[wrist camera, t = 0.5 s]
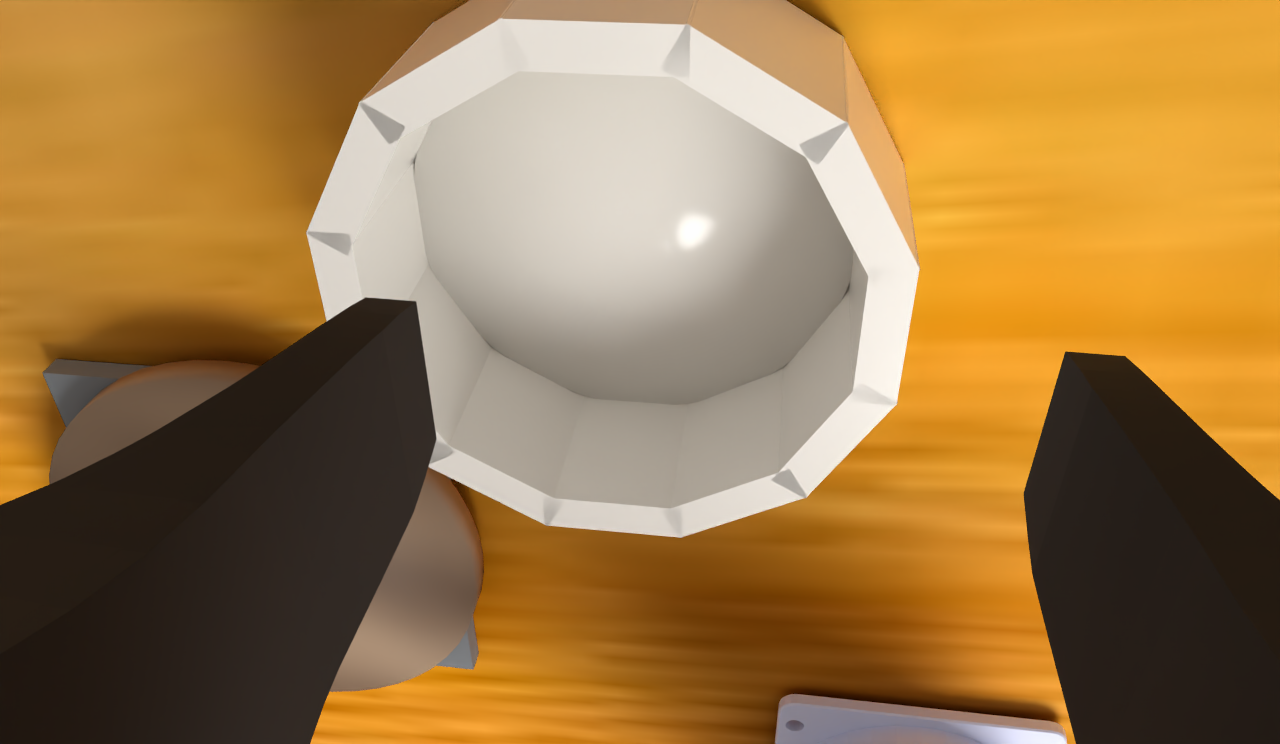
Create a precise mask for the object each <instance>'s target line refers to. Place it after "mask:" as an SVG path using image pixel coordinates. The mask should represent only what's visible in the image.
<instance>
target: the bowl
mask: <svg viewBox="0 0 1280 744" xmlns="http://www.w3.org/2000/svg"><path fill="white" fill-rule="evenodd" d="M358 104H359V105H358V108H357V110H356V113H355V115H354V118H353V120H352V122H351V125H350V127H349V130H348V132H347V135H346V137H345V140H344V142H343V145H342V147H341V149H340V152H339V154H338V157H337V159H336V162H335V164H334V167H333V169H332V171H331V174H330V176H329V179H328V181H327V184H326V186H325V189H324V191H323V193H322V196H321V198H320V201H319V203H318V206H317V208H316V211H315V213H314V216H313V218H312V220H311V223H310V225H309V228H308V230H307V231H306V232H307V233H306V234H307V237H308V241H309V246H310V250H311V254H312V259H313V263H314V268H315V272H316V276H317V281H318V285H319V290H320V294H321V298H322V303H323V307H324V311H325V316H326V320H327V321H328V320H330V319H331V318H333V317H334V316H336V315H337V314H339V313H340V312H342V311H343V310H345V309H347V308H348V307H350V306H351V305H353V304H355V303H357V302H358V301H360V300H362V299H364V298H365V297H368V298H381V299H394V300H407V301H416V302H417V309H418V316H419V323H420V329H421V336H422V343H423V350H424V357H425V363H426V370H427V377H428V384H429V390H430V397H431V404H432V411H433V417H434V424H435V431H436V438H437V440H436V443H435V446H434V450H433V453H432V457H431V460H430V463H429V467H430V468H432V469H434V470H436V471H438V472H440V473H442V474H444V475H446V476H448V477H450V478H452V479H454V480H456V481H458V482H460V483H462V484H464V485H466V486H468V487H470V488H472V489H474V490H476V491H478V492H480V493H482V494H484V495H486V496H488V497H490V498H492V499H494V500H496V501H498V502H500V503H502V504H504V505H506V506H508V507H510V508H512V509H514V510H516V511H518V512H520V513H522V514H524V515H526V516H528V517H530V518H532V519H535V520H537V521H539V522H541V523H543V524H545V525H547V526H558V527H570V528H581V529H592V530H603V531H614V532H625V533H636V534H647V535H658V536H669V537H679V538H682V537H684V536H687V535H690V534H694V533H697V532H700V531H703V530H706V529H709V528H712V527H715V526H719V525H722V524H725V523H728V522H731V521H734V520H737V519H740V518H743V517H747V516H750V515H753V514H756V513H759V512H762V511H765V510H768V509H772V508H775V507H778V506H781V505H784V504H787V503H790V502H793V501H797V500H800V499H803V498H806V497H807V496H808V495H809V494H810V493H811V492H812V491H813V490H814V489H815V488H816V487H817V486H818V485H819V484H820V483H821V482H822V481H823V479H824V478H825V477H826V476H827V475H828V474H829V473H830V472H831V471H832V470H833V469H834V468H835V467H836V466H837V465H838V464H839V463H840V462H841V461H842V460H843V459H844V458H845V457H846V456H847V455H848V454H849V453H850V452H851V451H852V450H853V449H854V447H855V446H856V445H857V444H858V443H859V442H860V441H861V440H862V439H863V438H864V437H865V436H866V435H867V434H868V433H869V432H870V431H871V430H872V429H873V428H874V427H875V426H876V425H877V424H878V423H879V422H880V421H881V420H882V419H883V418H884V417H885V416H886V414H887V413H888V412H889V411H890V410H891V409H892V408H893V407H894V406H895V405H896V404H897V398H898V392H899V386H900V380H901V374H902V368H903V362H904V356H905V350H906V344H907V339H908V333H909V327H910V321H911V315H912V309H913V303H914V297H915V291H916V285H917V279H918V273H919V270H920V266H919V260H918V253H917V246H916V240H915V233H914V226H913V220H912V213H911V206H910V199H909V193H908V186H907V179H906V173H905V166H904V163H903V162H902V159H901V157H900V155H899V153H898V151H897V149H896V147H895V145H894V143H893V141H892V138H891V136H890V134H889V132H888V130H887V128H886V126H885V124H884V122H883V119H882V117H881V115H880V113H879V111H878V109H877V107H876V105H875V103H874V101H873V98H872V96H871V94H870V92H869V90H868V88H867V86H866V84H865V82H864V79H863V77H862V75H861V73H860V71H859V69H858V67H857V65H856V63H855V61H854V58H853V56H852V54H851V52H850V50H849V48H848V46H847V44H846V42H845V39H844V37H843V35H840V34H838V33H837V32H835V31H834V30H832V29H831V28H829V27H827V26H826V25H824V24H823V23H821V22H820V21H818V20H816V19H815V18H813V17H812V16H810V15H809V14H807V13H806V12H804V11H802V10H801V9H799V8H798V7H796V6H795V5H793V4H791V3H790V2H788V1H787V0H470V1H468V2H466V3H465V4H463V5H461V6H460V7H458V8H457V9H455V10H453V11H452V12H450V13H448V14H447V15H445V16H443V17H442V18H440V19H439V20H437V21H435V22H433V23H432V24H431V25H430V26H429V27H428V28H427V29H426V30H425V31H424V33H423V34H422V35H421V36H420V37H419V38H418V39H417V40H416V41H415V42H414V43H413V44H412V46H411V47H410V48H409V49H408V50H407V51H406V52H405V53H404V54H403V55H402V56H401V57H400V59H399V60H398V61H397V62H396V63H395V64H394V65H393V66H392V67H391V68H390V69H389V70H388V72H387V73H386V74H385V75H384V76H383V77H382V78H381V79H380V80H379V81H378V82H377V83H376V85H375V86H374V87H373V88H372V89H371V90H370V91H369V92H368V93H367V94H366V95H365V96H364V98H363V99H362V100H361V101H360V102H359V103H358Z"/></svg>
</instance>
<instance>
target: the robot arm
mask: <svg viewBox="0 0 1280 744" xmlns="http://www.w3.org/2000/svg"><path fill="white" fill-rule="evenodd" d="M436 440H437V438H436V431H435V424H434V417H433V411H432V404H431V397H430V390H429V384H428V377H427V370H426V363H425V357H424V350H423V343H422V336H421V329H420V323H419V316H418V309H417V302H416V301H407V300H394V299H381V298H368V297H365V298H364V299H362V300H360V301H358V302H357V303H355V304H353V305H351V306H350V307H348V308H347V309H345V310H343V311H342V312H340V313H339V314H337V315H336V316H334V317H333V318H331V319H330V320H328V321H327V322H325V323H324V324H322V325H321V326H319V327H318V328H316V329H315V330H313V331H312V332H310V333H309V334H307V335H306V336H304V337H303V338H301V339H300V340H299V341H297V342H296V343H294V344H293V345H291V346H290V347H288V348H287V349H285V350H284V351H282V352H281V353H279V354H278V355H276V356H275V357H273V358H272V359H270V360H269V361H267V362H266V363H264V364H263V365H261V366H260V367H258V368H257V369H255V370H254V371H252V372H251V373H249V374H248V375H246V376H245V377H243V378H242V379H240V380H239V381H237V382H235V383H234V384H232V385H231V386H229V387H228V388H226V389H224V390H223V391H221V392H219V393H218V394H216V395H214V396H213V397H211V398H209V399H208V400H206V401H204V402H203V403H201V404H199V405H198V406H196V407H194V408H193V409H191V410H189V411H188V412H186V413H184V414H183V415H181V416H179V417H178V418H176V419H175V420H173V421H171V422H170V423H168V424H166V425H165V426H163V427H161V428H160V429H158V430H156V431H154V432H153V433H151V434H149V435H147V436H145V437H144V438H142V439H140V440H138V441H136V442H134V443H133V444H131V445H129V446H127V447H125V448H123V449H121V450H119V451H117V452H116V453H114V454H112V455H110V456H108V457H106V458H104V459H102V460H99V461H97V462H95V463H93V464H91V465H89V466H87V467H85V468H83V469H81V470H79V471H77V472H75V473H73V474H71V475H69V476H67V477H65V478H63V479H61V480H58V481H56V482H54V483H52V484H50V485H48V486H45V487H43V488H40V489H38V490H36V491H33V492H31V493H28V494H26V495H24V496H21V497H19V498H16V499H14V500H12V501H9V502H7V503H5V504H2V505H0V744H310V742H311V739H312V736H313V734H314V731H315V728H316V725H317V722H318V719H319V717H320V714H321V711H322V708H323V705H324V703H325V700H326V698H327V696H328V693H329V691H330V689H331V686H332V684H333V682H334V679H335V677H336V675H337V672H338V670H339V668H340V666H341V664H342V661H343V659H344V657H345V655H346V653H347V651H348V649H349V647H350V645H351V643H352V641H353V639H354V637H355V635H356V632H357V630H358V628H359V626H360V624H361V622H362V620H363V618H364V616H365V614H366V612H367V610H368V608H369V606H370V603H371V601H372V599H373V597H374V595H375V593H376V591H377V589H378V587H379V585H380V583H381V581H382V579H383V577H384V575H385V572H386V570H387V568H388V566H389V564H390V562H391V560H392V558H393V556H394V553H395V551H396V549H397V547H398V545H399V543H400V541H401V539H402V537H403V534H404V532H405V530H406V528H407V526H408V524H409V521H410V519H411V517H412V515H413V513H414V510H415V507H416V504H417V501H418V498H419V495H420V492H421V489H422V486H423V483H424V480H425V477H426V473H427V470H428V467H429V463H430V460H431V457H432V453H433V450H434V446H435V443H436ZM1024 502H1025V512H1026V522H1027V533H1028V542H1029V550H1030V558H1031V566H1032V574H1033V578H1034V582H1035V586H1036V590H1037V595H1038V599H1039V603H1040V606H1041V610H1042V614H1043V618H1044V622H1045V626H1046V630H1047V634H1048V638H1049V642H1050V646H1051V649H1052V653H1053V657H1054V661H1055V665H1056V669H1057V672H1058V676H1059V680H1060V684H1061V688H1062V691H1063V695H1064V699H1065V703H1066V707H1067V711H1068V714H1069V718H1070V722H1071V726H1072V730H1073V733H1074V737H1075V741H1076V744H1280V500H1279V499H1278V498H1276V497H1275V496H1274V495H1273V494H1272V493H1271V492H1270V491H1268V490H1267V489H1266V488H1265V487H1264V486H1263V485H1262V484H1260V483H1259V482H1258V481H1257V480H1256V479H1255V478H1254V477H1253V476H1252V475H1251V474H1249V473H1248V472H1247V471H1246V470H1245V469H1244V468H1243V467H1242V466H1241V465H1240V464H1239V463H1237V462H1236V461H1235V460H1234V459H1233V458H1232V457H1231V456H1230V455H1229V454H1228V453H1227V452H1226V451H1225V450H1223V449H1222V448H1221V447H1220V446H1219V445H1218V444H1217V443H1216V442H1215V441H1214V440H1213V439H1212V438H1211V437H1210V436H1209V435H1208V434H1207V433H1206V432H1205V431H1203V430H1202V429H1201V428H1200V427H1199V426H1198V425H1197V424H1196V423H1195V422H1194V421H1193V420H1192V419H1191V418H1190V417H1189V416H1188V415H1187V414H1186V413H1185V412H1184V411H1183V410H1182V409H1181V408H1180V407H1179V406H1178V405H1177V404H1176V403H1175V402H1173V401H1172V400H1171V399H1170V398H1169V397H1168V396H1167V395H1166V394H1165V393H1164V392H1163V391H1162V390H1161V389H1160V388H1159V387H1158V386H1157V385H1156V384H1155V383H1154V382H1153V381H1152V380H1151V379H1150V378H1149V377H1148V376H1146V375H1145V374H1144V373H1143V372H1142V371H1141V370H1140V369H1139V368H1138V367H1137V366H1136V365H1134V364H1133V363H1132V362H1131V361H1130V360H1129V359H1128V358H1126V357H1125V356H1115V355H1102V354H1089V353H1076V352H1065V355H1064V358H1063V362H1062V365H1061V368H1060V372H1059V375H1058V379H1057V382H1056V385H1055V389H1054V392H1053V396H1052V399H1051V402H1050V406H1049V409H1048V413H1047V416H1046V419H1045V423H1044V426H1043V430H1042V433H1041V436H1040V440H1039V443H1038V447H1037V450H1036V453H1035V457H1034V460H1033V464H1032V467H1031V470H1030V474H1029V477H1028V480H1027V484H1026V487H1025V491H1024ZM775 744H1067V738H1066V734H1065V730H1064V728H1063V727H1062V726H1061V725H1060V724H1058V723H1056V722H1052V721H1045V720H1036V719H1027V718H1017V717H1008V716H999V715H989V714H980V713H971V712H961V711H952V710H943V709H933V708H924V707H915V706H905V705H896V704H887V703H877V702H868V701H859V700H849V699H840V698H831V697H821V696H812V695H803V694H790V695H786V696H784V697H783V698H782V699H781V700H780V702H779V708H778V717H777V726H776V735H775Z"/></svg>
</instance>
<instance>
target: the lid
mask: <svg viewBox="0 0 1280 744" xmlns="http://www.w3.org/2000/svg"><path fill="white" fill-rule="evenodd" d="M258 367H260V366H259V365H254V364H247V363H240V362H232V361H224V360H188V361H178V362H169V363H164V364H160V365H155V366H151V367H147V368H143V369H140V370H138V371H136V372H133V373H131V374H128V375H126V376H123V377H121V378H119V379H118V380H116V381H115V382H113V383H112V384H110V385H109V386H107V387H105V388H104V389H102V390H101V391H100V392H99V393H98V394H97V395H96V396H95V397H94V398H93V399H92V400H91V401H90V402H89V403H88V404H87V405H86V406H85V407H84V408H83V409H82V410H81V411H80V412H79V413H78V415H77V416H76V417H75V418H74V419H73V420H72V421H71V422H70V423H69V425H68V426H67V428H66V429H65V431H64V432H63V434H62V435H61V437H60V438H59V440H58V443H57V445H56V448H55V451H54V453H53V456H52V461H51V468H50V474H49V480H50V484H52V483H54V482H56V481H58V480H61V479H63V478H65V477H67V476H69V475H71V474H73V473H75V472H77V471H79V470H81V469H83V468H85V467H87V466H89V465H91V464H93V463H95V462H97V461H99V460H102V459H104V458H106V457H108V456H110V455H112V454H114V453H116V452H117V451H119V450H121V449H123V448H125V447H127V446H129V445H131V444H133V443H134V442H136V441H138V440H140V439H142V438H144V437H145V436H147V435H149V434H151V433H153V432H154V431H156V430H158V429H160V428H161V427H163V426H165V425H166V424H168V423H170V422H171V421H173V420H175V419H176V418H178V417H179V416H181V415H183V414H184V413H186V412H188V411H189V410H191V409H193V408H194V407H196V406H198V405H199V404H201V403H203V402H204V401H206V400H208V399H209V398H211V397H213V396H214V395H216V394H218V393H219V392H221V391H223V390H224V389H226V388H228V387H229V386H231V385H232V384H234V383H235V382H237V381H239V380H240V379H242V378H243V377H245V376H246V375H248V374H249V373H251V372H252V371H254V370H255V369H257V368H258ZM483 574H484V566H483V551H482V547H481V542H480V538H479V534H478V531H477V528H476V526H475V523H474V521H473V518H472V516H471V513H470V511H469V509H468V507H467V506H466V504H465V502H464V500H463V499H462V497H461V495H460V494H459V492H458V490H457V489H456V487H455V486H454V485H453V483H452V482H451V481H450V479H449V478H448V477H447V476H446V475H444V474H442V473H440V472H438V471H436V470H434V469H432V468H430V467H428V470H427V473H426V477H425V480H424V483H423V486H422V489H421V492H420V495H419V498H418V501H417V504H416V507H415V510H414V513H413V515H412V517H411V519H410V521H409V524H408V526H407V528H406V530H405V532H404V534H403V537H402V539H401V541H400V543H399V545H398V547H397V549H396V551H395V553H394V556H393V558H392V560H391V562H390V564H389V566H388V568H387V570H386V572H385V575H384V577H383V579H382V581H381V583H380V585H379V587H378V589H377V591H376V593H375V595H374V597H373V599H372V601H371V603H370V606H369V608H368V610H367V612H366V614H365V616H364V618H363V620H362V622H361V624H360V626H359V628H358V630H357V632H356V635H355V637H354V639H353V641H352V643H351V645H350V647H349V649H348V651H347V653H346V655H345V657H344V659H343V661H342V664H341V666H340V668H339V670H338V672H337V675H336V677H335V679H334V682H333V684H332V686H331V689H330V691H331V692H334V691H360V690H368V689H376V688H381V687H385V686H390V685H394V684H398V683H400V682H403V681H406V680H409V679H411V678H414V677H416V676H418V675H420V674H422V673H424V672H426V671H428V670H430V669H431V668H433V667H434V666H436V665H437V664H438V663H440V662H441V661H442V660H444V659H445V658H446V657H447V656H448V655H449V654H450V653H451V652H452V651H453V650H454V649H455V648H456V646H457V645H458V644H459V643H460V641H461V639H462V638H463V636H464V635H465V633H466V631H467V630H468V627H469V624H470V621H471V619H472V616H473V613H474V610H475V607H476V604H477V601H478V598H479V595H480V592H481V589H482V581H483Z"/></svg>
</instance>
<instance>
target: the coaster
mask: <svg viewBox="0 0 1280 744" xmlns="http://www.w3.org/2000/svg"><path fill="white" fill-rule="evenodd" d="M147 367H151V366H143V365H130V364H117V363H104V362H91V361H77V360H64V359H56V360H55V361H54V362H53V363H52V364H51V365H50V366H49V367H48V368H47V369H46V370H45V371H44V372H43V375H44V378H45V380H46V382H47V385H48V387H49V389H50V391H51V394H52V396H53V398H54V401H55V403H56V405H57V408H58V410H59V412H60V414H61V417H62V419H63V421H64V424H65V426H66V428H67V426H68V425H69V423H70V422H71V421H72V420H73V419H74V418H75V417H76V416H77V415H78V413H79V412H80V411H81V410H82V409H83V408H84V407H85V406H86V405H87V404H88V403H89V402H90V401H91V400H92V399H93V398H94V397H95V396H96V395H97V394H98V393H99V392H100V391H101V390H102V389H104V388H105V387H107V386H109V385H110V384H112V383H113V382H115V381H116V380H118V379H119V378H121V377H123V376H126V375H128V374H131V373H133V372H136V371H138V370H140V369H143V368H147ZM447 477H448V476H447ZM448 478H449V479H450V481H451V478H450V477H448ZM478 654H479V652H478V646H477V640H476V633H475V627H474V621H473V616H472V619H471V621H470V624H469V627H468V630H467V631H466V633H465V635H464V636H463V638H462V639H461V641H460V643H459V644H458V645H457V646H456V648H455V649H454V650H453V651H452V652H451V653H450V654H449V655H448V656H447V657H446V658H445V659H444V660H442V661H441V662H440V663H438V664H437V666H446V667H455V668H464V669H474V666H475V663H476V660H477V657H478Z"/></svg>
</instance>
